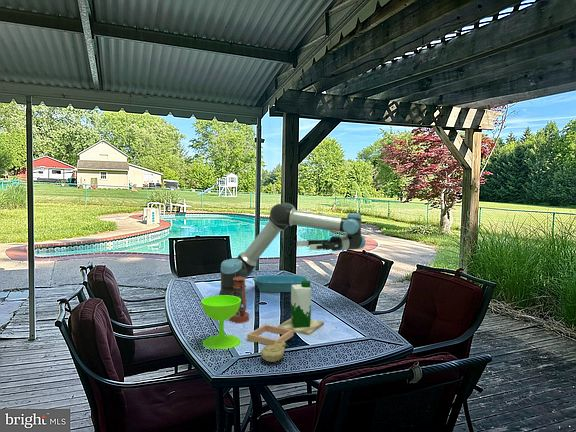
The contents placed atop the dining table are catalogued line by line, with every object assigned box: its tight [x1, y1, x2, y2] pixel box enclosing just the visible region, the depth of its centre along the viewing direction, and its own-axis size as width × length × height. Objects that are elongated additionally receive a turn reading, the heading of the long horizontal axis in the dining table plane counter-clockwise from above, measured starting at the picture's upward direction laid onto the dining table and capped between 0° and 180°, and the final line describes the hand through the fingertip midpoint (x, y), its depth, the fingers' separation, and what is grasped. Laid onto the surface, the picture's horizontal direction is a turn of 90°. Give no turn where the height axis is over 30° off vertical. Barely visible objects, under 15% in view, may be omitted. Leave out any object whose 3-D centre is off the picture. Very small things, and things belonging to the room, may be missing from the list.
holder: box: [246, 323, 295, 346], centre depth 167 cm, size 14×14×2 cm
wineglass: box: [200, 294, 242, 349], centre depth 160 cm, size 16×16×18 cm
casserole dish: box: [252, 274, 312, 293], centre depth 250 cm, size 37×22×7 cm, turn 95°
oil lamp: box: [260, 341, 287, 363], centre depth 148 cm, size 11×14×5 cm
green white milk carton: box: [290, 281, 312, 328], centre depth 180 cm, size 9×9×20 cm
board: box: [277, 317, 325, 336], centre depth 182 cm, size 16×16×1 cm
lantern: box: [229, 260, 250, 324], centre depth 189 cm, size 10×10×30 cm
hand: (303, 245), depth 198 cm, fingers open, 13 cm apart
